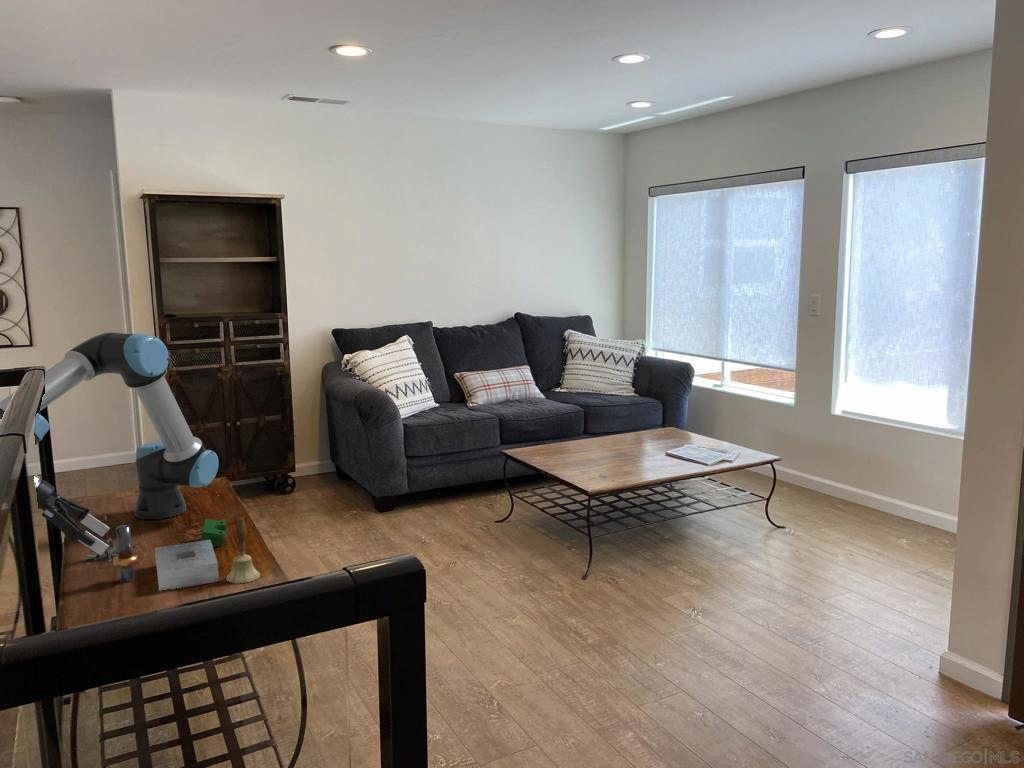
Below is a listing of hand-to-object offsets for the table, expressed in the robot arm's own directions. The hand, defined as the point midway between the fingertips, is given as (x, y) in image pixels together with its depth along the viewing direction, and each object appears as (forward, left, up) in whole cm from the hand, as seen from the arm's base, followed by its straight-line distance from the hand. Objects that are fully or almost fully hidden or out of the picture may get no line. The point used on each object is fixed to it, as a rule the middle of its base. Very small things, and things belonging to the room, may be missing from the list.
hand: (105, 541), depth 196 cm
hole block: (+1, +18, -11) cm, 21 cm away
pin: (-1, +4, -11) cm, 12 cm away
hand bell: (+10, +31, -12) cm, 35 cm away
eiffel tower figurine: (-20, 0, -12) cm, 24 cm away
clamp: (-18, +27, -12) cm, 34 cm away
